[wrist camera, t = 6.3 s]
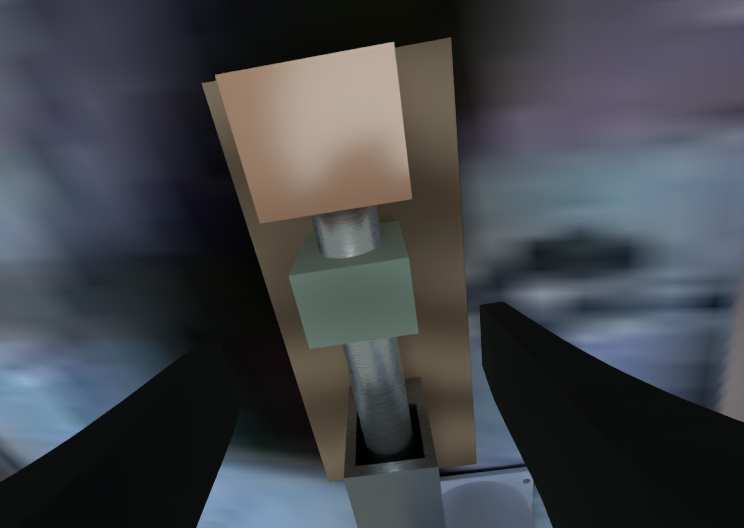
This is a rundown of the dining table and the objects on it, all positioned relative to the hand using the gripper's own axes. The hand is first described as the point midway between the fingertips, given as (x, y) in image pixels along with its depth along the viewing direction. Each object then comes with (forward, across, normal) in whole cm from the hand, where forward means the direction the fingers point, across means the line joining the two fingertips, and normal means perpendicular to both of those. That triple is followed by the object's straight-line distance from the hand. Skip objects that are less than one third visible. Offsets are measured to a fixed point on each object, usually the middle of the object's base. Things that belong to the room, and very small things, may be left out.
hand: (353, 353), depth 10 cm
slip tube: (+7, 0, +2) cm, 7 cm away
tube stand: (+9, 0, +5) cm, 10 cm away
